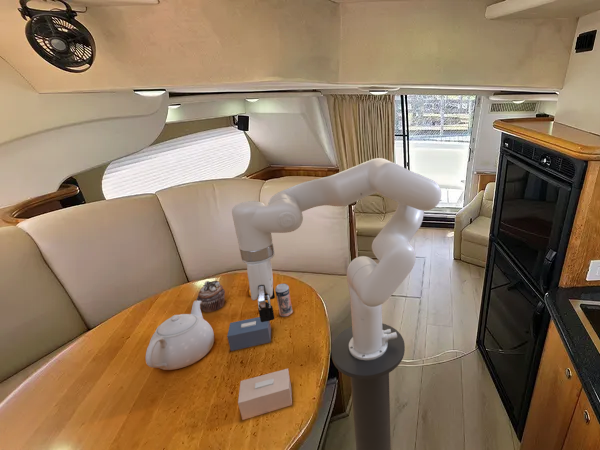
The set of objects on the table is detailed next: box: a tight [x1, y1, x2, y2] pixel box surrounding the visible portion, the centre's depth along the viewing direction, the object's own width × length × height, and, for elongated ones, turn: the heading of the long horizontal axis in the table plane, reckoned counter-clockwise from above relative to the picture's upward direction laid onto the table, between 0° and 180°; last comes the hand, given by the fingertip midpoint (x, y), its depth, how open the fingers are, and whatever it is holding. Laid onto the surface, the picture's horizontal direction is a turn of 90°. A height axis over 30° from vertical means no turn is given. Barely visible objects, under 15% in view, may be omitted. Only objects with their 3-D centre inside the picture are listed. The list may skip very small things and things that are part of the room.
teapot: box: [145, 300, 215, 371], centre depth 97 cm, size 19×18×14 cm
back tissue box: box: [226, 316, 272, 352], centre depth 104 cm, size 12×7×6 cm, turn 110°
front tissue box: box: [237, 368, 293, 421], centre depth 82 cm, size 12×7×6 cm, turn 111°
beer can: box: [274, 283, 294, 317], centre depth 116 cm, size 5×5×12 cm
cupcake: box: [196, 280, 226, 313], centre depth 121 cm, size 10×10×10 cm
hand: (268, 309), depth 83 cm, fingers open, 9 cm apart
